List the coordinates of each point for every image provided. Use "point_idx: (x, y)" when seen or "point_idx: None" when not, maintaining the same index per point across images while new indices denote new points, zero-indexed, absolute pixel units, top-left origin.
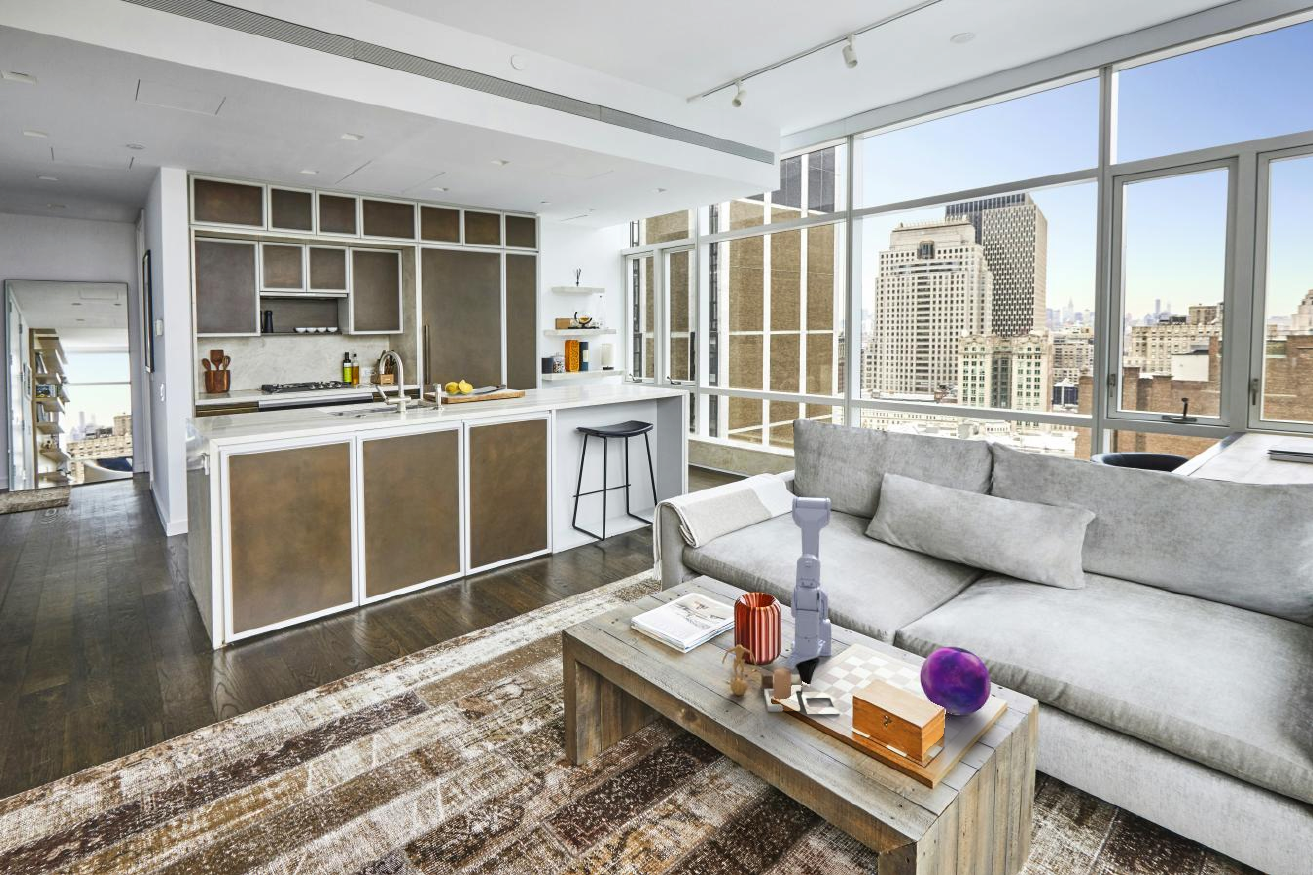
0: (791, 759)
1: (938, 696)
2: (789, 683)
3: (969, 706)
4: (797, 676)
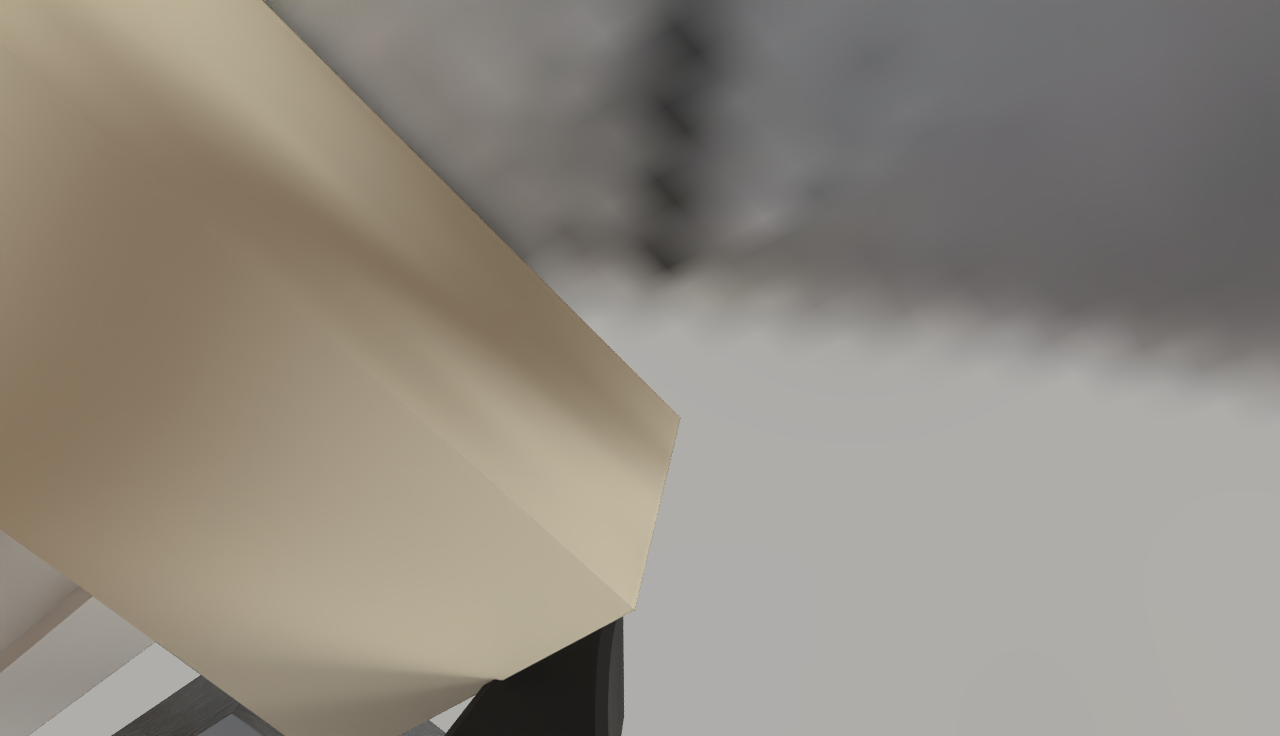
0: None
1: None
2: None
3: None
4: (492, 613)
